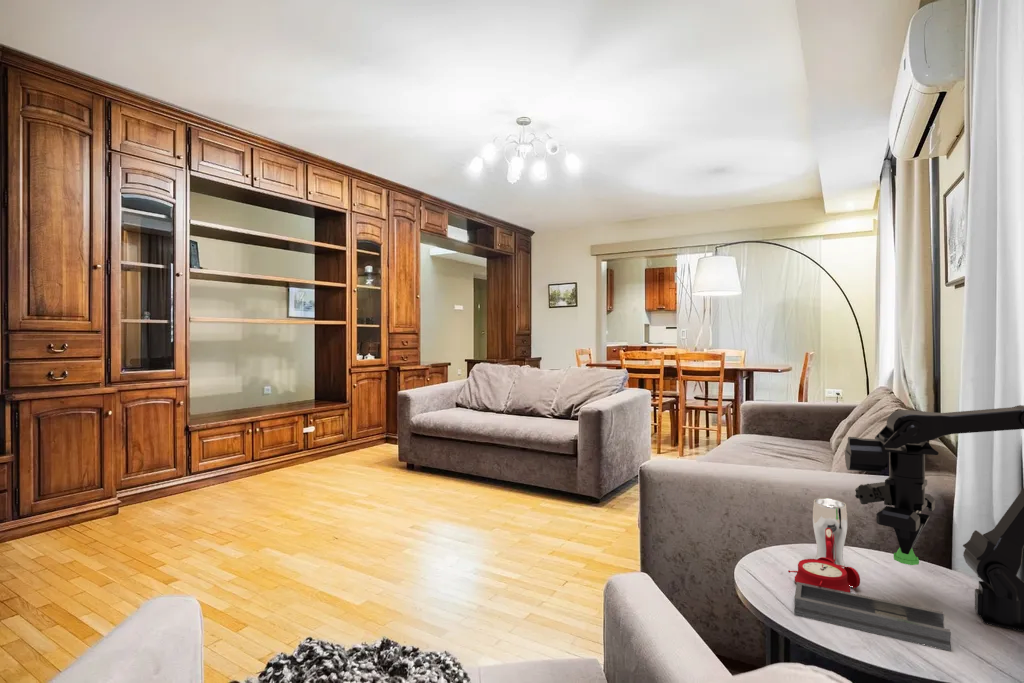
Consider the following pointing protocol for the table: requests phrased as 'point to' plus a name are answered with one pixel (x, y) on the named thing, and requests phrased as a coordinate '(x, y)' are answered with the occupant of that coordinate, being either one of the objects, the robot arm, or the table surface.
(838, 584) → the alarm clock
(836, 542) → the beer glass
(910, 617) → the track
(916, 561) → the game piece
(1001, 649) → the table surface
